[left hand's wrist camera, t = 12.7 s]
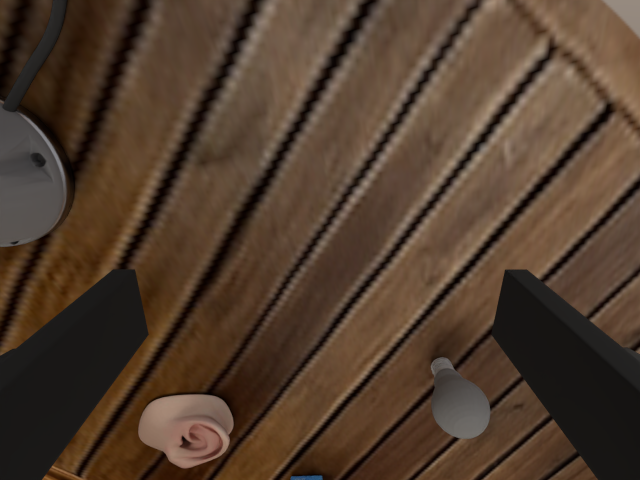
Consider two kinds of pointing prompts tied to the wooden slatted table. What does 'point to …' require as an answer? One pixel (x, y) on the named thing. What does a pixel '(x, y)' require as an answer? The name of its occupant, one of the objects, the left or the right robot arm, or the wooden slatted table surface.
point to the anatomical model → (187, 428)
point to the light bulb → (457, 402)
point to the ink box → (306, 477)
